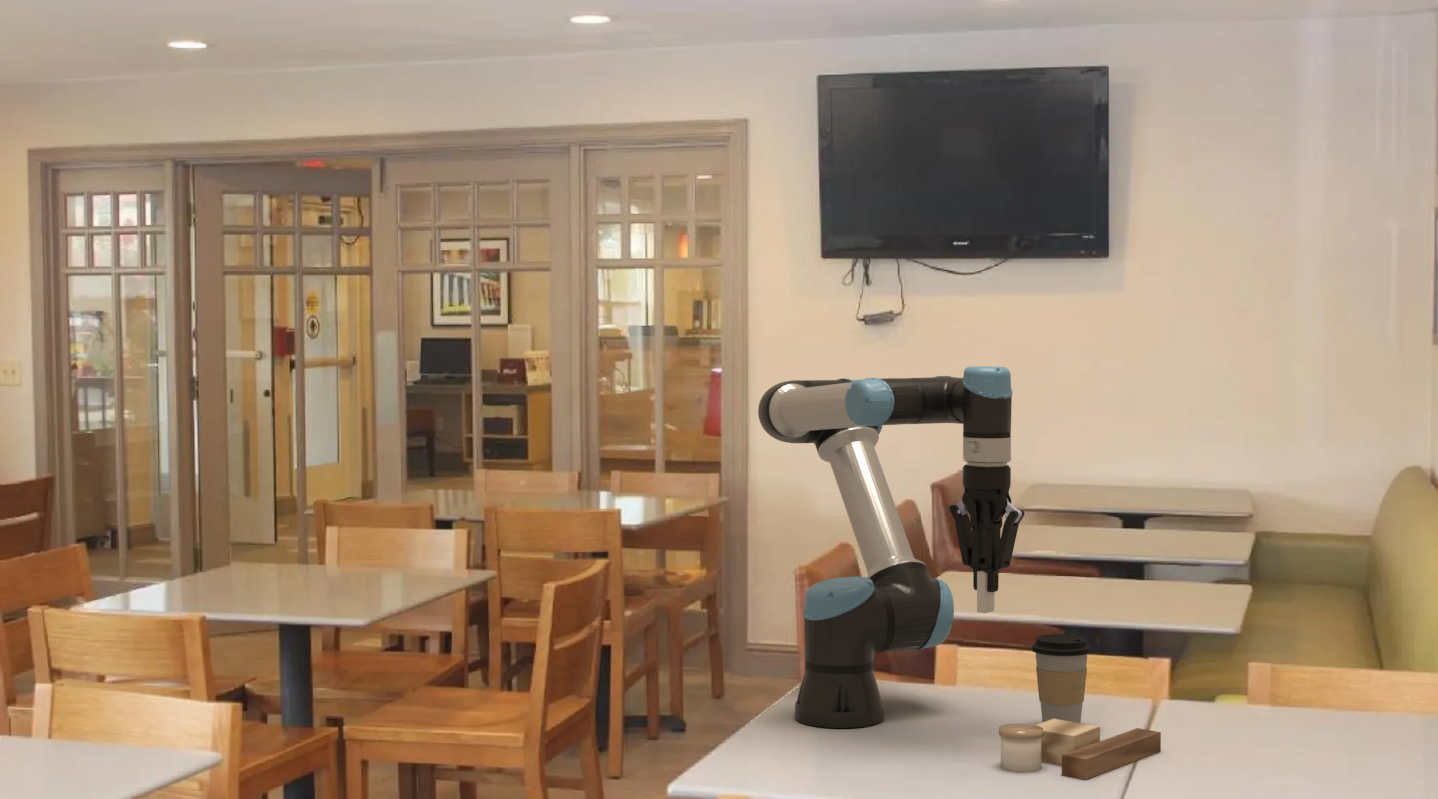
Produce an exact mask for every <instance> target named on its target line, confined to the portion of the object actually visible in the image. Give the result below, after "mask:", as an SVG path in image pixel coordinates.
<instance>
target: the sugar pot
mask: <svg viewBox="0 0 1438 799" xmlns="http://www.w3.org/2000/svg"><path fill="white" fill-rule="evenodd" d="M1036 725H1037V724H1030V723H1018V722H1016V723H1005V724H1001V725H999V726H998V736H1000V768H1001V769H1002V770H1005V771H1008V772H1013V773H1034V772H1038V771H1040V770H1042V762H1041V737H1042V736H1043V728H1042V727H1040V726H1036Z"/></svg>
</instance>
